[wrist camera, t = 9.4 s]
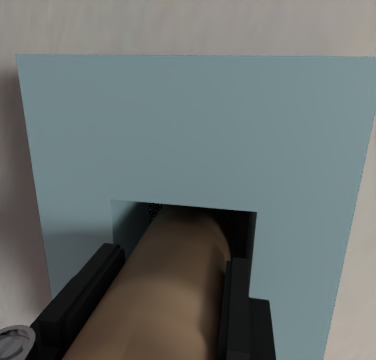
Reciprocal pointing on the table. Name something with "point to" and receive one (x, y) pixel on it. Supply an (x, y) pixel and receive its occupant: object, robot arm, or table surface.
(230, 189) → the socket block
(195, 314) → the peg
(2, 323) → the table surface
